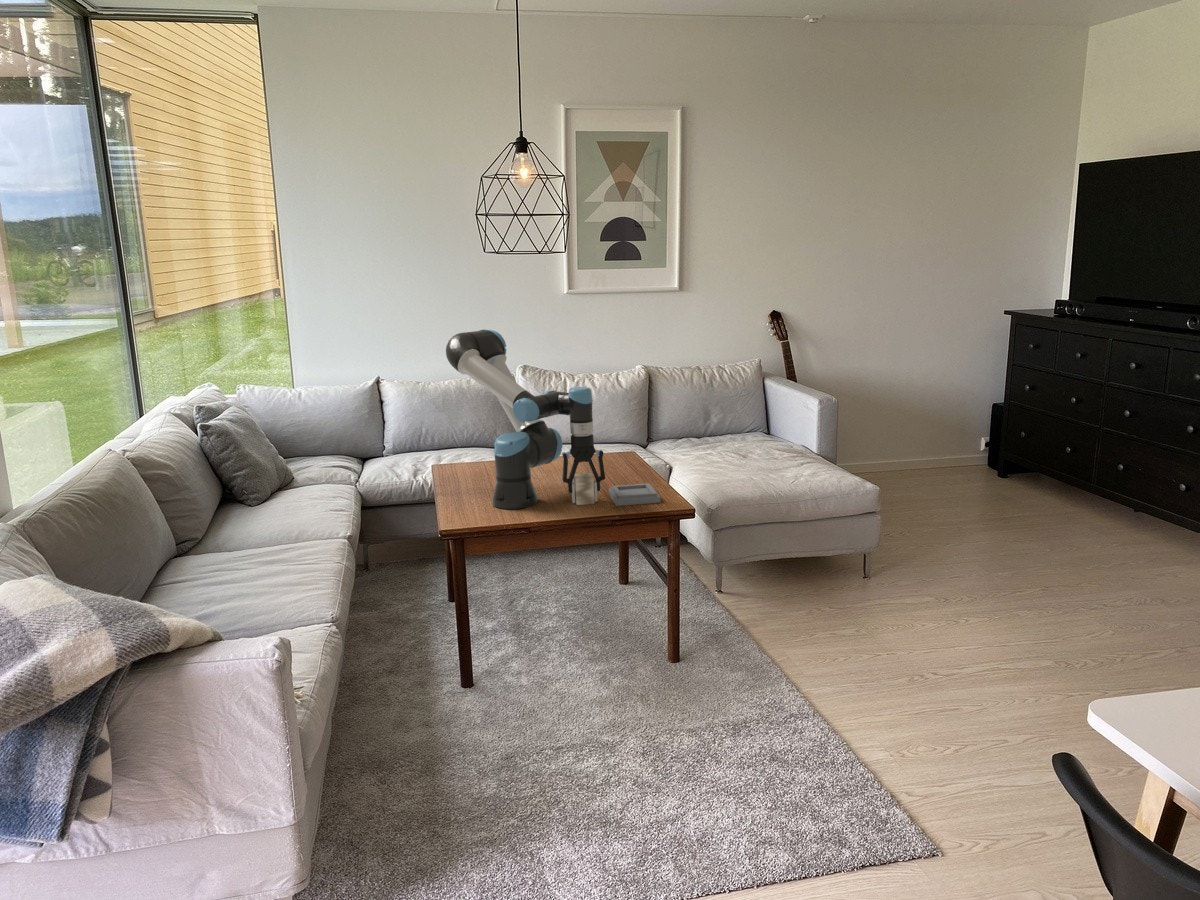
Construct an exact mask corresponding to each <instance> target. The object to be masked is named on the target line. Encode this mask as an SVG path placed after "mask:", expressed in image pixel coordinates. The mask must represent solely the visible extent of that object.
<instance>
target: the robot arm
mask: <svg viewBox="0 0 1200 900" xmlns="http://www.w3.org/2000/svg"><path fill="white" fill-rule="evenodd" d="M445 356H446V359H447V361H448V362H449V364H450V366H451V367H453V369H454V370H456V371H457V372H459V373H460V374H461V375H467V376H469V377H470V378H472V380H473V381H475V382H477V383H478V384H479V385H481V386H482V387H483V388H485V389H486V390H487V391H489V392H490V394H493V395H494V396H495V397H496V399H497V400H498V402H499V404H500V405H501V408H502V409H503V410H504V412H505V414H506V416H507V417H508V419H509V421H510V423H511V424H512V426H513V428H514V430H515V431H512V432H505V433H504V434H501V435H499V436H498V437H496V438H495V440H494V450H493V453H494V465H495V478H496V479H495V480H496V481H495V485H494V489H493V490H494V491H493V494H492V498H491V502H492V505H493V506H494V507H495V508H498V509H502V510H503V509H505V510H519V509H524V508H529V507H532V506H534V505H536V504H537V503H538V494H537V491H536V489H535V486H534V483H533V481H532V474H531V469H533V468H536V467H539V466H543V465H548V464H551V462H555V461H556V460H557V459H558V458H560V456H561V455H562V458H563V459H562V460H563V461H562V462H563V463H562V478H561V479H562V480H561V481H562V482H563V483H566V484H567V490H568V493H569V494H571V502H572V504H576V502H575V487H574V475H575V474H576V472H577V468H578V466H579V464H580V463H583V462H585V463H588V465H589V467H590V469H591V472H592V475H593V477H594V479H595V480H594V503H595V502H598V492H601V482H602V481H604V480H605V479H606V474H605V473H606V472H605V468H604V467H605V466H604V461H603V460H604V459H603V456H604V451H603V450H602V449H595V445H594V444H595V442H594V440H595V439H594V434H593V433H594V422H593V421H594V419H593V395H592V393H593V392H592V389H591V388H590V387H588V386H573V387H570V388H569V389H568V392H565V391H557V390H546V391H543V392H542V394H541V395H533V394H532V393H531V392H530V391H528V390H527V389H525V388H524V387H523V386H521V385H520V384H519V383H517V381H516V379H515V377H514V376H513V374H512V373H511V370H510V369H509V367H508V366H507V363H506V361H507V358H508V357H507V343H506V340H505V339H504V337H503V335H502V334H500V333H499V332H498V331H496V330H492V329H480V330H477V331H476V330H474V331H466V332H465V331H464V332H459V333H456V334H455V335H452V337H451V338H450V339H449V340H448V342H447V344H446V347H445ZM557 415H560V416H561V415H563V416H564V415H565V416H569V424H570V426H569V427H570V429H569V431H570V432H569V433H570V434H571V435H570V449H569V451H566V452H565V451H563V452H562V450H563V449H562V448H563V439H562V436H561V434H560V432H559V431H558V430H556V428H552V427H548V426H547V424H546V422H545V420H543V419H544V418H549V417H553V416H557ZM594 455H595V456H596V457H597V460H598V469H599V473H598V472H597V469H596V467H595V464H594V462H593V456H594ZM570 456H572V458H573V459H574V460H573V462H572V466H571V469H570V472H569V475H568V469H569V465H568V464H569V459H570ZM599 474H600V476H599ZM605 481H606V480H605Z"/></svg>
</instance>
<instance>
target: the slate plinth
mask: <svg viewBox="0 0 1200 900" xmlns="http://www.w3.org/2000/svg"><path fill="white" fill-rule="evenodd" d="M608 495H609V496H610V498H611V500H612V502H613V503H614V506H615V507H617V506H619V507H620V506H633V505H645V504H646V505H647V504H657V503H658V504H660V503H662V502H661V501H662V500H661V495H660V494H659V493H658V492H657V491H656V489H655V488H654V487H653V485H652V484H650V483H637V484H635V483H634V484H624V485H623V484H619V485H611V487H609V488H608Z"/></svg>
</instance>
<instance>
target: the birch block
mask: <svg viewBox="0 0 1200 900" xmlns="http://www.w3.org/2000/svg"><path fill="white" fill-rule="evenodd" d="M594 479H595V477H594V475H593V473H591V472H588V473H575V475H574V478H573V482H574V487H575V505H577V506H578V505H579V506H581V505H593V504H595V500H594V481H595V480H594Z"/></svg>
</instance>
